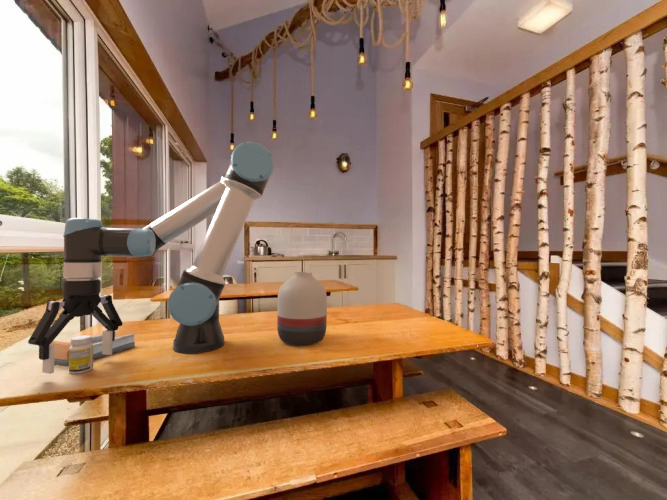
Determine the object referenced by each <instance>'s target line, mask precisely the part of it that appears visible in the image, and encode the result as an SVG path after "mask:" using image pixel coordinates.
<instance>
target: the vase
mask: <svg viewBox="0 0 667 500" xmlns="http://www.w3.org/2000/svg"><path fill="white" fill-rule="evenodd" d="M278 289H279V290H278V292H277V293H278V294H277V307H276V308H277V309H276V311H277V312H276V313H277V320H276V321H277V322H276V323H277V326H276V329H277V333H278V337H279V340H280V341H281V342H283V344H284V343H285V344H286V345H287V344H288V345H290V346H296V347H297V346H298V347H299V346H300V347H301V346H304V347H305V346H312V345H315V344H318V343H320V342H321V341H323V340H324V338H325V335H326V332H327V324H328V323H327V317H328V316H327V314H328V313H327V312H328V311H327V309H328V307H327V306H328V305H327V304H328V303H327V302H328V299H327V291H326V288H325V286H324V285H323V283H321V282H320V281H319V280H318V279H317V278H315V276H314V275H313V273H312V272H311V271H294V272H292V276H291V277H290V278H288V279H287V280H285V282H284V283H283V284H282V285H281V286H280V287H279V288H278Z"/></svg>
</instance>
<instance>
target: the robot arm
mask: <svg viewBox="0 0 667 500" xmlns="http://www.w3.org/2000/svg"><path fill="white" fill-rule="evenodd" d="M274 169H275V166H274V158H273V155H272V153H271V152H270V150H269V149H268V148H267V147H266V146H264V145H263V144H261V143H259V142H256V141H246V142H242V143H239V144H238V145H237V146H236V147H235V148H234V149H233V151H232V153H231V155H230V163H229V165H228V168H227V170H226V173H225V174H223V175H221V177H220V181H218V182H216V183H215V184H213V185H211V186H210V187H208V188H206V189H204V190H203V191H202V192H199V193H198V194H197V195H195V196H193V197H192V198H189V199H188V200H187V201H185V202H183V203H182V204H180V205H179V206H177V207H176V208H174V209H172V210H170V211H169V212H167V213H165V214H164V215H162V216H160V217H159V218H157V219H156V220H154V221H152V222H151V223H149V224H148V225H145V226H144V227H142V228H140V227H135V228H134V227H131V228H130V227H128V228H127V227H106V226H104V225H103V221H102V220H101V219H97V218H96V219H95V218H84V217H83V218H82V217H70V218H68V219H66V221H65V224H64V225H65V226H64V232H63V233H64V234H63V235H62V236H63V270H62V272H63V275H62V277H63V279H65V280H63V282H62V296H63V299H62V300H61V301H53V300H52V301H51V300H49V301H47V303H46V308H45V312H44V313H43V315H42V317H41V318H40V320H39V321H38V323H37V325H36V327H35V329H34V331H33V332H32V334H31V336H30V337H29V339H28V341H27V343H28V344H29V345H34V346H38V359H39V360H42V373H45V374H54V373H55V364H54V358H55V344H51V343H52V342H53V341H55V339H56V338H57V337H58V336H59V334H60V333H61V332H62V331H63V330H64V328H65V327H66V326H67V325H68V324H69V323H70V321H72V320H73V319H74V318H80V317H83V316H93V318H95V320H97V321H98V322H99V324H101V326H103V328H104V330H102V334H103V339H102V354H104V355H107V356H112V341H114V340H115V332H116V331H118V329H119V327H122V326H123V324H124V323H123V320H122V319H121V317H120V315H119V313H118V311H117V309H116V307H115V305H114V304H113V303H114V302H113V297H112V295H110V294H102V295H101V296H100V293H101V290H102V280H101V279H99V278H101V277H102V260H103V259H102V258H103V257H133V258H134V257H135V258H142V257H151V256H153V255H154V254H156V253H157V252H158V251H159V249H160V248H161V249H162V247H164V246H166V245H167V244H168V243H169V242H171V241H173V240H175V239H176V238H177V237H179V236H180V235H182V234H184V233H185V232H187V231H188V230H190V229H191V228H194V227H195V226H196V225H198V224H200V223H201V222H203V221H205V220H206V219H207V218H209V217H211V216H212V215H213V217H212V219H211V222H210V223H209V225H208V228H207V231H206V233H205V235H204V237H203V240H202V242H201V245H200V246H199V249H198V251H197V253H196V256H195V259H194V261H193V264H192V265H191V266H188V267H186V268H184V269H183V271H182V274H181V276H180V278H179V279H178V283H177V285H176V287H175V288H174V289H173V290H172V291H171V293H170V295H169V296H168V302H167V309H168V312H169V314H170V316H171V317H172V319H174V321H176V323H179V325H178V328H177V330H176V332H175V333H176V334H175V338H174V339H173V343H172V349H173V351H174V352H177V353H181V354H197V353H205V352H210V351H215V350H218V349H220V348H221V347H223V346H224V345H225V335H224V334H223V333H224V332H223V329H222V325H221V323H220V298H221V295H222V292H223V290H224V288H225V286H226V281H225V279H224V274H225V271H226V269H227V267H228V264H229V262H230V260H231V256H232V255H233V253H234V250H235V247H236V245H237V243H238V240H239V238H240V236H241V233H242V230H243V228H244V226H245V223H246V221H247V218H248V217H249V213H250V211H251V209H252V207H253V204H254V202H255V201H256V200H258V199H261V198H262V196H263V195H264V194H263V193H264V191H265V189H266V187H267V184H268V182H269V179H270V178H271V176H272V174H273V171H274ZM99 304H101V305H102V308H103V309H104V311H105V313H106V314H105V313H104V312H103V310H102V309H101V308H100V307H99ZM62 309H63V310H62ZM60 310H62V311H61V313H60V314H59V312H60ZM58 314H59V315H58ZM57 316H58V318H56V317H57ZM55 319H56V320H55Z"/></svg>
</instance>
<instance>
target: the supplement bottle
mask: <svg viewBox="0 0 667 500" xmlns="http://www.w3.org/2000/svg"><path fill="white" fill-rule="evenodd" d="M91 337H92V335H88V334H87V335H86V334H85V335H77V336H74V337H72V338H71V339H70V342H71V345H72V346H70V348H69V366H68V373H69V374H71V375H72V374H73V375H74V374H82V373H87V372H89V371H91V370H92V369H93V367H94V360H93V344H92V343H90V342H91Z"/></svg>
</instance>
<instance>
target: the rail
mask: <svg viewBox="0 0 667 500" xmlns="http://www.w3.org/2000/svg"><path fill="white" fill-rule="evenodd" d="M116 333H117V332H116V331H115V340H114V341H112V354H116V353H119V352H122V351H125V350H129V349H132V348H135V347H136V346H135V345H136V341H135V333H128V334H123V335H121V336H116V335H117V334H116ZM102 339H103V333H100V334H97V335H91V342H90V343H92V344H93V361H95V360H97V359H100V358H103V357H106V356H108V355H104V354H102ZM51 344H55V358H54V365H58V366H59V365H60V366H66V367H69V348H70V346H72V345H71V341H69V342H66V341H59V340H58V341H57V340H53V342H52V343H51Z"/></svg>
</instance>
